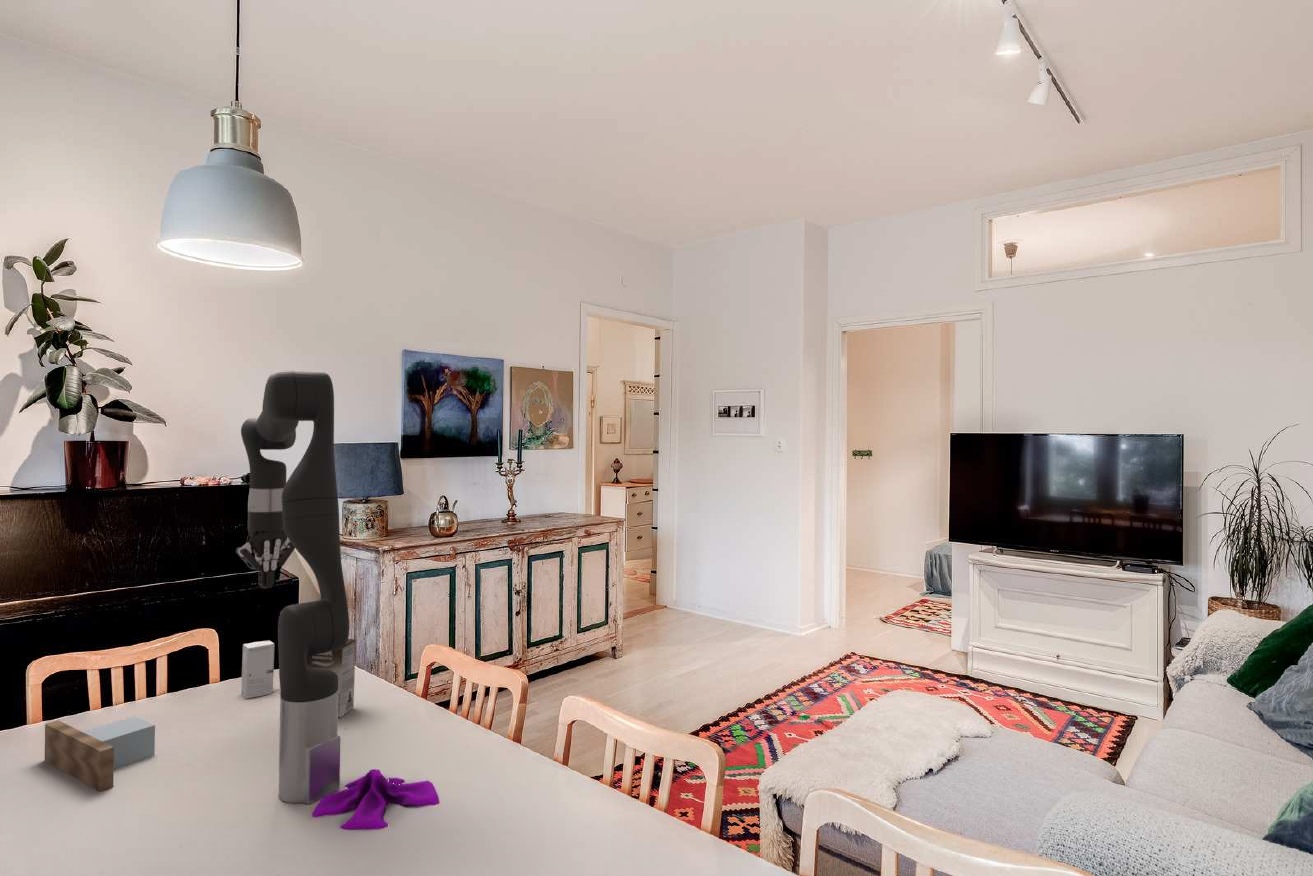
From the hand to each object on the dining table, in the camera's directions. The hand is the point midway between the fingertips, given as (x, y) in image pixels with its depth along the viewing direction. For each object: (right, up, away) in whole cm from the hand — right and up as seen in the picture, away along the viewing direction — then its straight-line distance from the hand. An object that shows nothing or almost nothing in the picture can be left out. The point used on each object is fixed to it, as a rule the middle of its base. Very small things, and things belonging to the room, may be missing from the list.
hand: (266, 587), depth 154 cm
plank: (-21, -29, -25) cm, 43 cm away
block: (-18, -29, -20) cm, 39 cm away
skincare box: (-10, -29, +15) cm, 34 cm away
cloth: (+36, -31, -32) cm, 57 cm away
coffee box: (+11, -29, +5) cm, 32 cm away
